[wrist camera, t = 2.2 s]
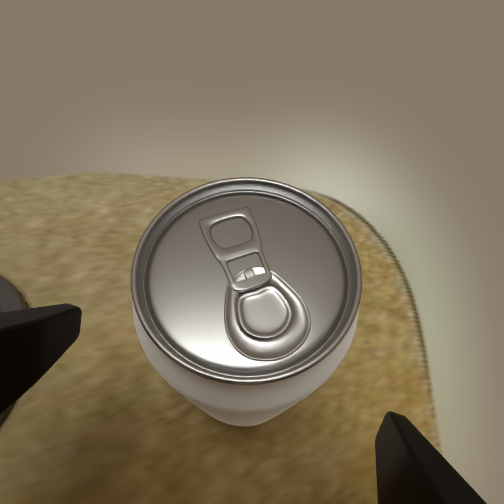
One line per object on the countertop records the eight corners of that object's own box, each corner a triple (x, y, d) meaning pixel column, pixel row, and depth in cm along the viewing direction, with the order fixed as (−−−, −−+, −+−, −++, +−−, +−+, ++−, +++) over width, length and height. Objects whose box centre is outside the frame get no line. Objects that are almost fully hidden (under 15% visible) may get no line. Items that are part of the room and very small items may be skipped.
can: (206, 448, 16) (141, 468, 6) (173, 329, 19) (93, 199, 9) (320, 398, 17) (438, 338, 7) (273, 294, 20) (307, 144, 10)
